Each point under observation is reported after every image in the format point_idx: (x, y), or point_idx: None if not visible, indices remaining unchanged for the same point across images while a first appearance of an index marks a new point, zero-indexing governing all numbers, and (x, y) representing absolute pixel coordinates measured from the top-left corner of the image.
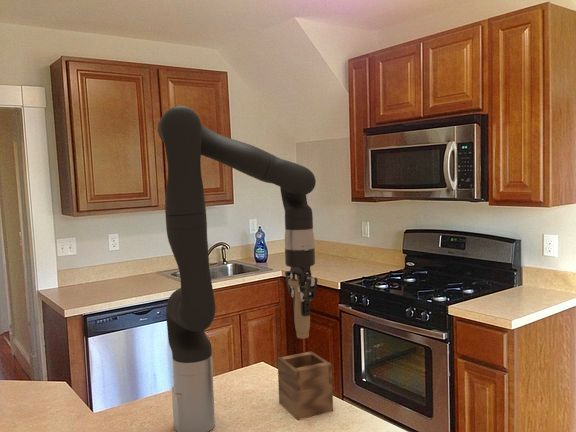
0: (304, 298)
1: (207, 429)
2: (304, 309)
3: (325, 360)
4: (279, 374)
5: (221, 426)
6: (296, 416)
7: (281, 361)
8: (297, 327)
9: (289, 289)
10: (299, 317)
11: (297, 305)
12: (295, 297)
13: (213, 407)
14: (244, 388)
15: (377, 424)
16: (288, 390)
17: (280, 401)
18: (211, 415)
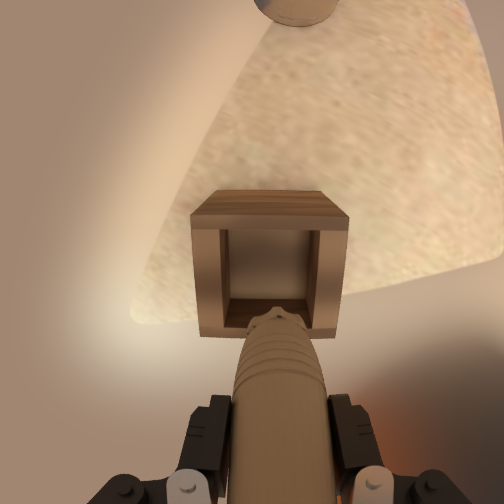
0: (125, 486)
1: (255, 2)
2: (195, 430)
3: (237, 337)
4: (325, 205)
5: (269, 33)
6: (219, 191)
7: (313, 215)
8: (264, 333)
9: (434, 499)
10: (247, 378)
11: (258, 435)
12: (285, 483)
13: (275, 3)
14: (430, 157)
15: (138, 313)
16: (260, 199)
17: (312, 192)
18: (264, 2)
